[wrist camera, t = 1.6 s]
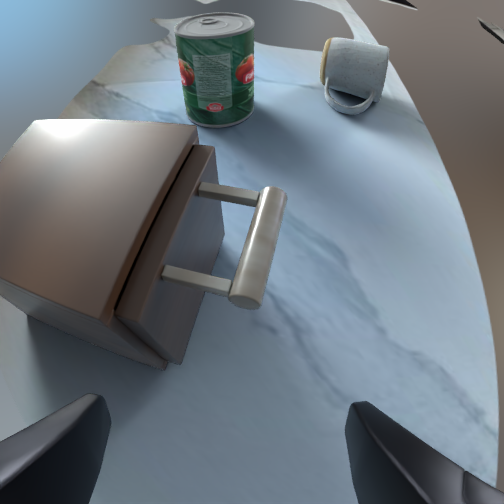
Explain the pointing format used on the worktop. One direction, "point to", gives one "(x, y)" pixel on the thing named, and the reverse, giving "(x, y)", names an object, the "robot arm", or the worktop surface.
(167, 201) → the drawer
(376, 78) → the ceramic mug
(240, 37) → the canned tomato
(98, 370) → the worktop surface
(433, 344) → the worktop surface
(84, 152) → the storage box
